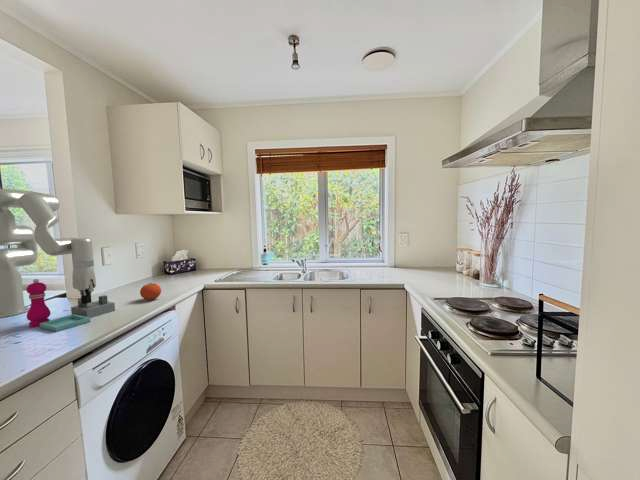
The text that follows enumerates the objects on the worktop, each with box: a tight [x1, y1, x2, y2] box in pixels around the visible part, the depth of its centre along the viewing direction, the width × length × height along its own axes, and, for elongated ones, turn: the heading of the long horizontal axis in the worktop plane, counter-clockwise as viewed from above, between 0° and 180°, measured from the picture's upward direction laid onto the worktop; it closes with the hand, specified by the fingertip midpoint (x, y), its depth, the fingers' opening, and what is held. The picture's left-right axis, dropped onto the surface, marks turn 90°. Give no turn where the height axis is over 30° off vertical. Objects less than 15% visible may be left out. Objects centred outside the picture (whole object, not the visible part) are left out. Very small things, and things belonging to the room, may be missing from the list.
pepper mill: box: [26, 278, 51, 328], centre depth 119 cm, size 7×7×20 cm
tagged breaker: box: [77, 297, 87, 307], centre depth 133 cm, size 3×2×4 cm
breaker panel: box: [70, 299, 116, 319], centre depth 135 cm, size 12×12×4 cm
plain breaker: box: [98, 294, 109, 304], centre depth 136 cm, size 2×2×4 cm
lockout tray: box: [39, 314, 91, 333], centre depth 119 cm, size 12×12×2 cm
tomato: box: [139, 281, 162, 301], centre depth 157 cm, size 10×10×10 cm
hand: (86, 303), depth 131 cm, fingers closed
